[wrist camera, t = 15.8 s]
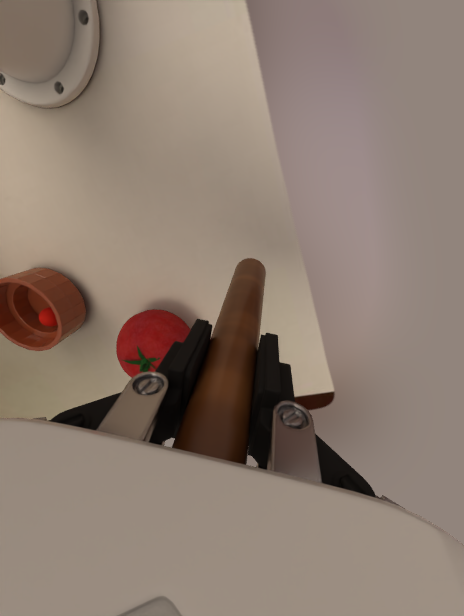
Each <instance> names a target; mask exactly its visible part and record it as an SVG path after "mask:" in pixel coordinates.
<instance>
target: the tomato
mask: <svg viewBox="0 0 464 616" xmlns="http://www.w3.org/2000/svg"><path fill="white" fill-rule="evenodd" d="M189 332H190V328H189V327H188V326H187V324H186V323H185V322H184V321H183V320H182V319H181V318H179V317H178V316H176V315H174V314H172V313H170V312H168V311H164V310H154V309H153V310H147V311H144V312H141V313H139V314H136V315H134V316H133V317H131V318H130V319H129V320H128V321H127V322H126V323H125V324H124V325H123V327H122V329H121V331H120V333H119V335H118V339H117V357H118V360H119V362H120V364H121V367H122V368H123V370H124V371H125V372H126V373H127V374H128V375H129V376H130V377H132V378H133V377H134V376H136V375H137V374H140V373H143V372H149V371H151V372H155V371H156V369H157V367H158V366H159V364H160V363H161V361H162V360H163V358H164V357H165V355H166V354H167V352H168V350H169V349H170V347H171V346H172V344H173V343H174V342H175V341H178V342H184V341H185V339H186V337H187V336H188V334H189Z"/></svg>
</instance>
